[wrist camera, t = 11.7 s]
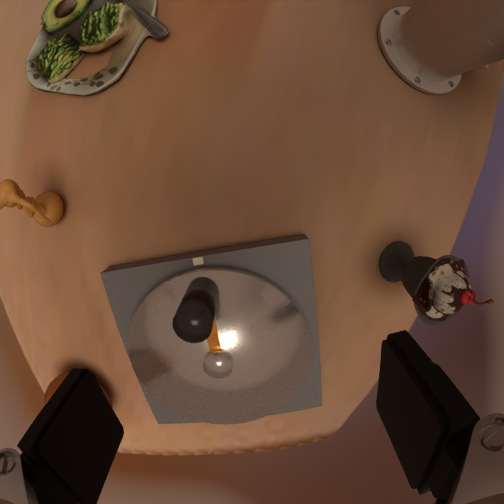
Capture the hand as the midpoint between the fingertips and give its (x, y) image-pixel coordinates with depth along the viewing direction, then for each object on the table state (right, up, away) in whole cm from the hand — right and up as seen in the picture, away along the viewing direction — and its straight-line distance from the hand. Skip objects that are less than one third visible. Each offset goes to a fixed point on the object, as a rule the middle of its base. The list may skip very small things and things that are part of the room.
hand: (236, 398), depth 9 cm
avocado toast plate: (-20, +31, +17) cm, 41 cm away
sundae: (+18, +3, +25) cm, 31 cm away
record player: (-3, -7, +23) cm, 25 cm away
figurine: (-22, +11, +22) cm, 33 cm away
